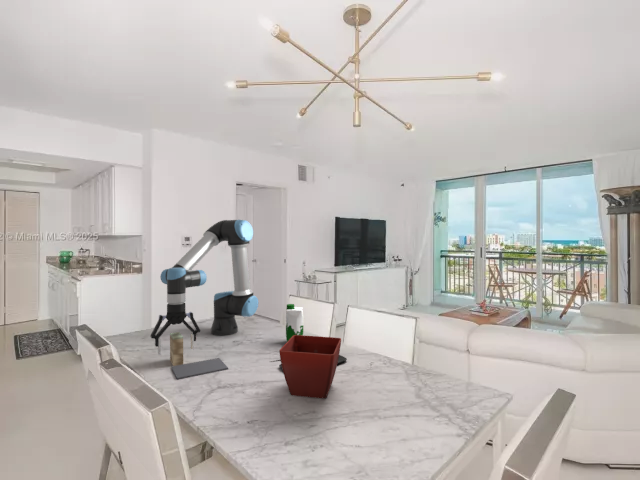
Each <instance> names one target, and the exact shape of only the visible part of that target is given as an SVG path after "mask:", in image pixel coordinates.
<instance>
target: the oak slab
mask: <svg viewBox="0 0 640 480" xmlns="http://www.w3.org/2000/svg"><path fill="white" fill-rule="evenodd" d="M169 360H170V363H171V366H177V365H182V364H184V336H183V334H181V332H180V331H178V332H176V331H175V332H171V333H169Z"/></svg>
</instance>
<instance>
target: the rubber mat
mask: <svg viewBox="0 0 640 480" xmlns="http://www.w3.org/2000/svg"><path fill="white" fill-rule="evenodd" d="M170 368H171V370H172V372H173V374H174V377H175V379H176V380H182V379H188V378H191V377H197V376H200V375H201V376H202V375H206V374H207V375H208V374H211V373H217V372H220V371H226V370H229V367H228V366H227V364H226V363H224V361H223V360H222V359H221V358H220V357H217V358H211V359H205V360H199V361H194V362H189V363H183V364H182V365H177V366H173V365H171V367H170Z"/></svg>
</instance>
